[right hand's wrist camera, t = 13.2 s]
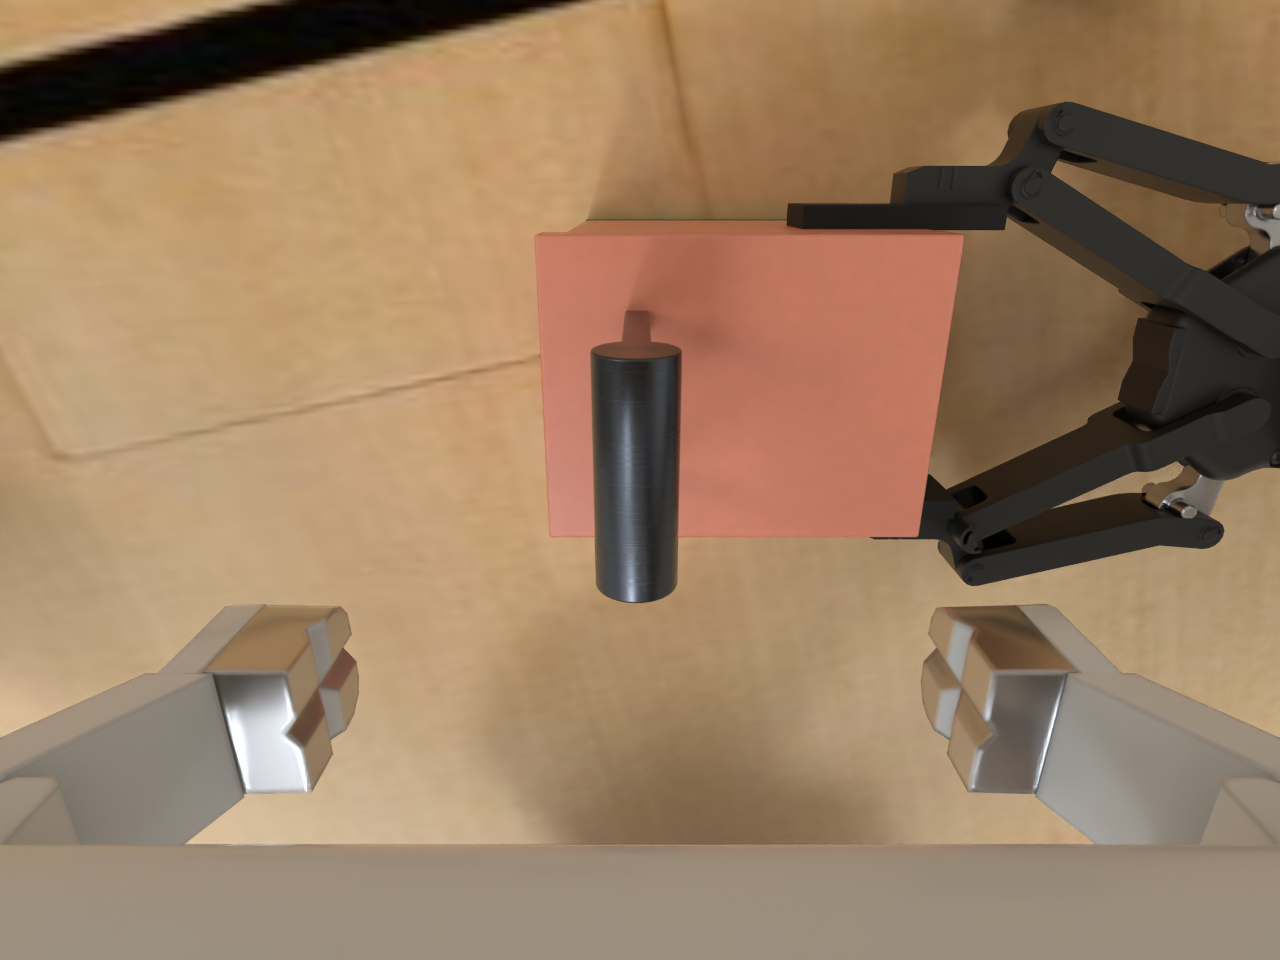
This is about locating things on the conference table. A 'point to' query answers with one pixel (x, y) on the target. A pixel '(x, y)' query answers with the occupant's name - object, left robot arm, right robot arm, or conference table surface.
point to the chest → (718, 227)
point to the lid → (737, 388)
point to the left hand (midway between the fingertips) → (783, 366)
